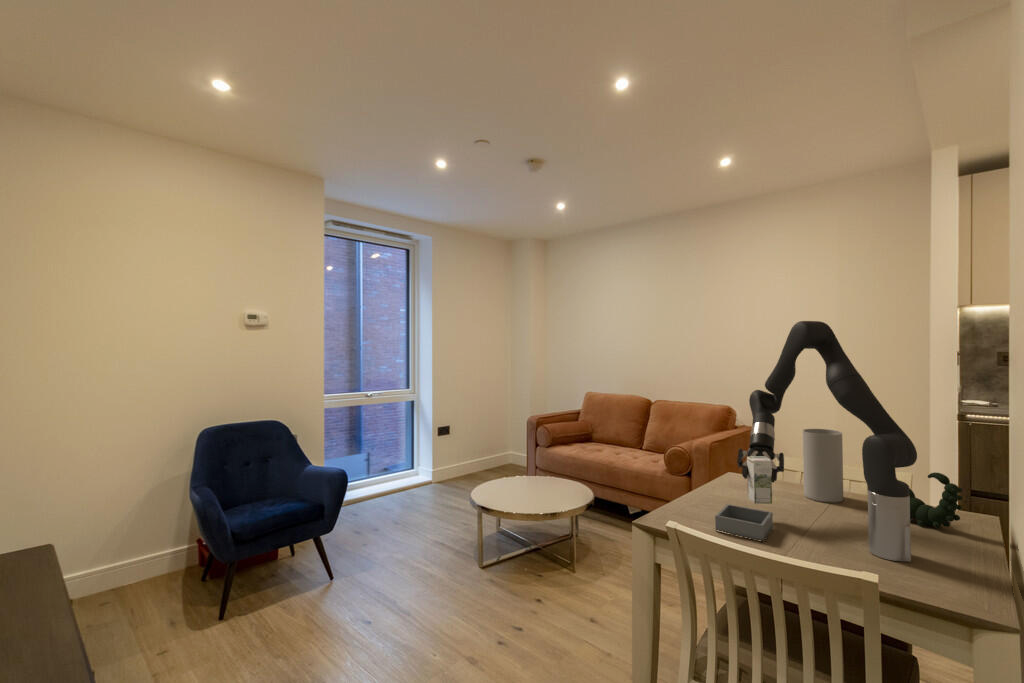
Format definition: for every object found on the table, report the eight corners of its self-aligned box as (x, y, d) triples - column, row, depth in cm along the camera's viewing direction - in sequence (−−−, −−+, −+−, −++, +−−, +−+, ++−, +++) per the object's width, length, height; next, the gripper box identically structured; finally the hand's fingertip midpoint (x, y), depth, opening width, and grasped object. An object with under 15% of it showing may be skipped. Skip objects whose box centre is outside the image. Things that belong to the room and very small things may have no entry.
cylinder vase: (796, 494, 184) (794, 430, 184) (820, 491, 188) (819, 427, 188) (826, 505, 172) (824, 435, 172) (851, 501, 176) (850, 433, 176)
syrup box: (765, 498, 162) (763, 455, 162) (772, 504, 156) (771, 459, 156) (747, 498, 163) (746, 455, 163) (754, 504, 157) (753, 459, 157)
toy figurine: (965, 538, 146) (882, 504, 170) (971, 478, 145) (886, 452, 169) (943, 542, 144) (862, 507, 168) (949, 481, 142) (866, 454, 166)
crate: (772, 528, 152) (772, 512, 152) (763, 542, 142) (763, 525, 142) (727, 518, 161) (727, 503, 161) (715, 531, 150) (715, 515, 150)
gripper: (738, 430, 170) (733, 470, 160) (784, 433, 162) (782, 476, 152) (741, 442, 174) (736, 482, 164) (786, 446, 166) (784, 488, 156)
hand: (758, 479), depth 158 cm, fingers closed on syrup box, 7 cm apart
